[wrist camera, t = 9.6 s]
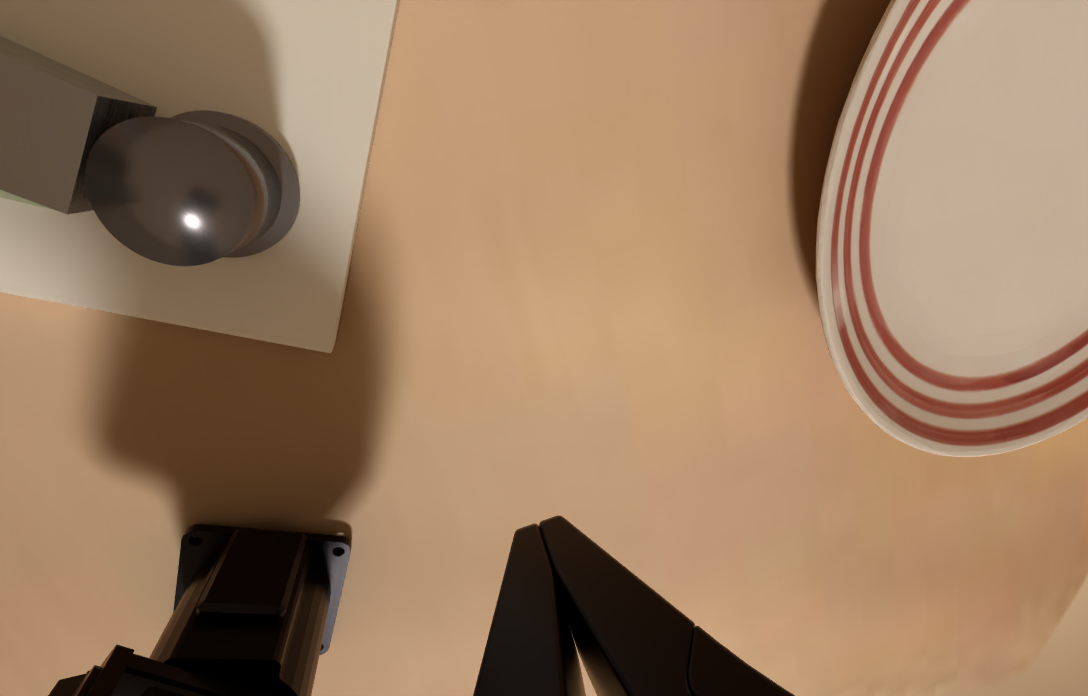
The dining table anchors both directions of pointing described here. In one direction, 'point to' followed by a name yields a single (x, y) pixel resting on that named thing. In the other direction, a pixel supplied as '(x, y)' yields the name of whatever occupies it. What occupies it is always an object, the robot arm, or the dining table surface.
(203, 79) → the door board
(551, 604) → the robot arm
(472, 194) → the dining table surface
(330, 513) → the dining table surface
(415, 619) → the dining table surface
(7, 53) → the bar
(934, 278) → the dinner plate
